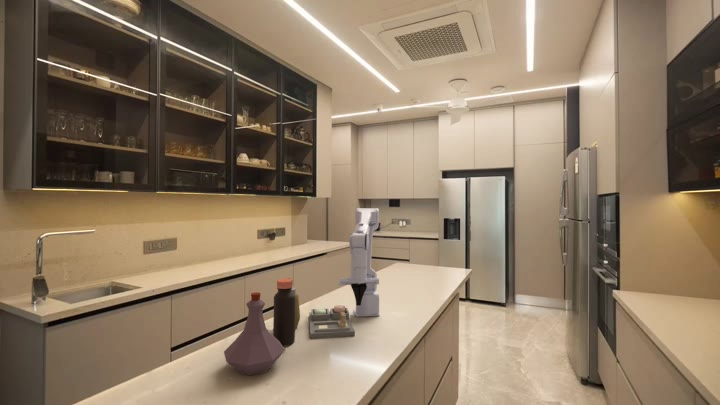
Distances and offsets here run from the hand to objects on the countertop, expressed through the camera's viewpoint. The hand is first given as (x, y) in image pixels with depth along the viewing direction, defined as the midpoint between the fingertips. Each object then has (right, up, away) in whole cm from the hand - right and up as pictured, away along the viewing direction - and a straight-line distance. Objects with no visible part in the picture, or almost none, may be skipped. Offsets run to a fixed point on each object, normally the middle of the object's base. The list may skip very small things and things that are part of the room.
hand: (358, 304), depth 117 cm
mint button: (-15, -7, +9) cm, 18 cm away
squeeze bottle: (-25, -9, +1) cm, 27 cm away
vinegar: (-24, -9, -11) cm, 28 cm away
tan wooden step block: (-6, -7, -1) cm, 9 cm away
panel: (-10, -9, +4) cm, 14 cm away
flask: (-28, -9, -27) cm, 40 cm away
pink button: (-7, -6, +10) cm, 14 cm away
